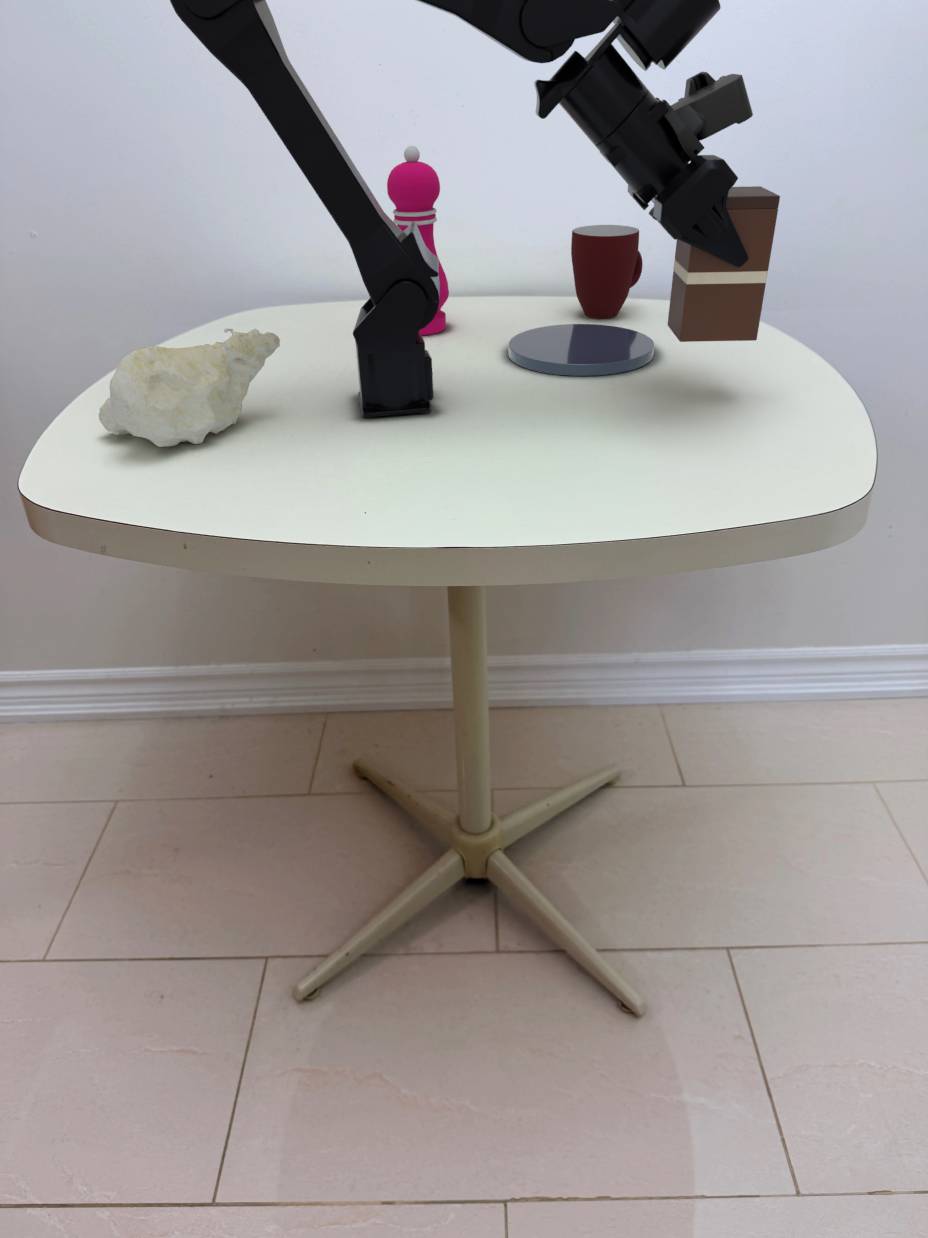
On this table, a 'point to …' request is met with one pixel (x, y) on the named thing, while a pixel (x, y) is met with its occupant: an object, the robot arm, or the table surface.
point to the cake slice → (725, 276)
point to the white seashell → (184, 388)
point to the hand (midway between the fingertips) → (735, 256)
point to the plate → (581, 349)
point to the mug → (605, 267)
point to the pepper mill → (418, 214)
